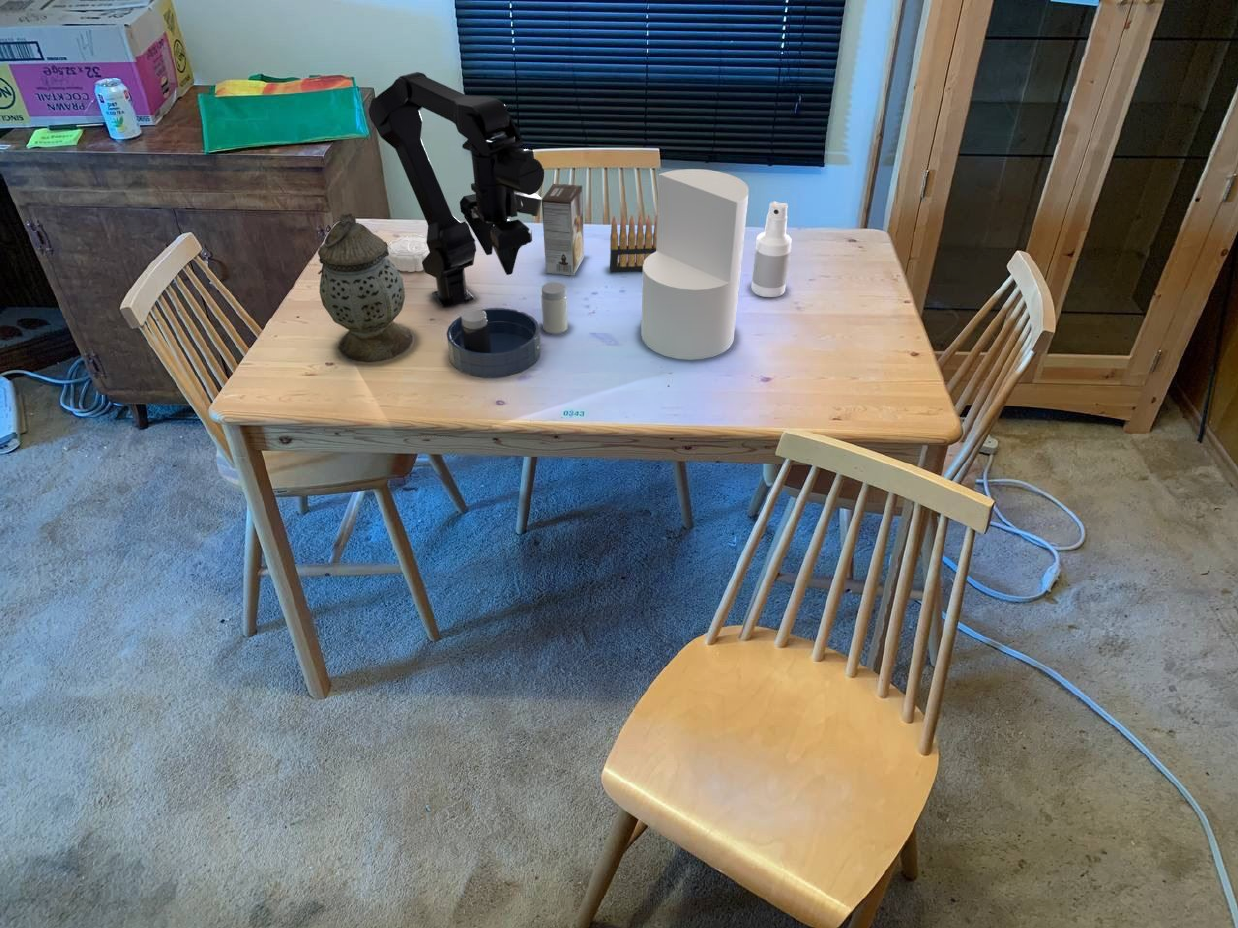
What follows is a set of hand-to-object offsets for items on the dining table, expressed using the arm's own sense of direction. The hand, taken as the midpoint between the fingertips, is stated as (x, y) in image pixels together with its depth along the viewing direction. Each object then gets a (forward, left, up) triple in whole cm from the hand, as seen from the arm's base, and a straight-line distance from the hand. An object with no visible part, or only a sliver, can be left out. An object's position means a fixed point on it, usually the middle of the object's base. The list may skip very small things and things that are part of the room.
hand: (499, 264), depth 154 cm
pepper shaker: (+10, -9, -12) cm, 18 cm away
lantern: (-4, -24, -12) cm, 27 cm away
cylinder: (+21, +28, -12) cm, 37 cm away
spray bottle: (+14, +52, -12) cm, 55 cm away
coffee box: (-16, +21, -12) cm, 29 cm away
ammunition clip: (-7, +33, -12) cm, 36 cm away
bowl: (+10, -6, -12) cm, 17 cm away
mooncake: (-34, -6, -12) cm, 37 cm away
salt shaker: (+7, +7, -12) cm, 16 cm away
